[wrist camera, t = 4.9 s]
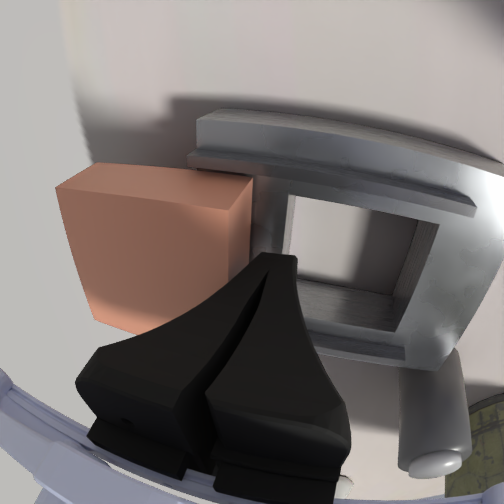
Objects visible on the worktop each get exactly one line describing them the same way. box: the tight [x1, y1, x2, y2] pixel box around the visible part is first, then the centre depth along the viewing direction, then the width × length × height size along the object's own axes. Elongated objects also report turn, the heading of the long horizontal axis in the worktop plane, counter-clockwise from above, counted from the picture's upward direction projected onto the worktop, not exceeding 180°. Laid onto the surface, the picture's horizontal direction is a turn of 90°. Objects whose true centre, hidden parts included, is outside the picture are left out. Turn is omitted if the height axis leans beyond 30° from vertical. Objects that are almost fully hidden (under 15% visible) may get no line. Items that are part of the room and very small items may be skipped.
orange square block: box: [55, 162, 253, 335], centre depth 12 cm, size 6×6×2 cm
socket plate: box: [187, 108, 504, 371], centre depth 13 cm, size 12×10×3 cm
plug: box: [398, 348, 472, 479], centre depth 14 cm, size 4×4×7 cm
